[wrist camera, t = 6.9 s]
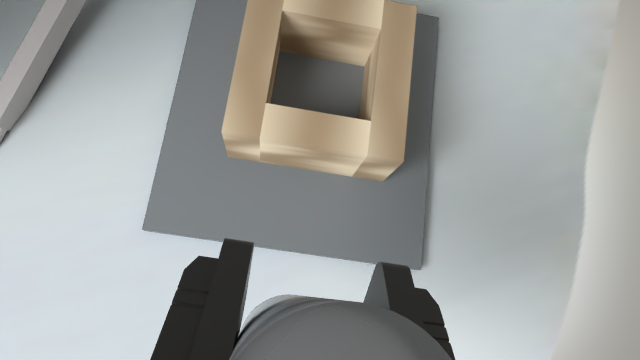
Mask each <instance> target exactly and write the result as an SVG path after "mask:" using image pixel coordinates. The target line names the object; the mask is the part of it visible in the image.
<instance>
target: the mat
mask: <svg viewBox="0 0 640 360" xmlns="http://www.w3.org/2000/svg"><path fill="white" fill-rule="evenodd" d="M247 2H248V0H196V4H195V8H194V12H193V16H192V21H191V25H190V29H189V33H188V37H187V42H186V46H185V50H184V54H183V59H182V63H181V67H180V71H179V76H178V80H177V84H176V88H175V92H174V97H173V101H172V105H171V109H170V114H169V118H168V122H167V126H166V131H165V135H164V139H163V143H162V147H161V152H160V156H159V160H158V164H157V169H156V173H155V177H154V181H153V186H152V190H151V194H150V198H149V202H148V207H147V211H146V215H145V219H144V224H143V228H142V229H143V230H144V231H151V232H158V233H165V234H172V235H179V236H185V237H192V238H199V239H206V240H213V241H220V242H224V239H225V238H229V239H235V240H242V241H249V242H254V246H255V247H262V248H269V249H276V250H282V251H289V252H296V253H303V254H310V255H317V256H324V257H331V258H338V259H345V260H352V261H359V262H366V263H373V264H377V263H378V262H386V263H392V264H399V265H406V266H408V267H409V268H410V269H414V270H421V263H422V248H423V234H424V220H425V206H426V191H427V177H428V163H429V149H430V134H431V120H432V106H433V91H434V77H435V63H436V49H437V34H438V20H439V18H438V17H433V16H428V15H423V14H418V13H416V24H415V35H414V47H413V59H412V70H411V82H410V94H409V106H408V117H407V129H406V141H405V152H404V162H403V163H402V164H401V165H400V166H399V167H398V168H396V169H395V170H394V171H393V172H392V173H391V174H390V175H389V176H388V177H387V178H386V179H385V180H384V181H383V182H382V181H375V180H369V179H363V178H357V177H350V176H344V175H338V174H332V173H325V172H319V171H313V170H307V169H300V168H294V167H288V166H282V165H275V164H269V163H263V162H257V161H250V160H244V159H238V158H232V157H228V156H227V152H226V148H225V144H224V140H223V136H222V132H221V131H222V126H223V121H224V116H225V111H226V106H227V101H228V96H229V91H230V86H231V81H232V76H233V71H234V66H235V61H236V56H237V51H238V46H239V41H240V36H241V31H242V26H243V21H244V16H245V11H246V7H247ZM363 75H364V66H359V65H353V64H348V63H342V62H337V61H331V60H326V59H320V58H315V57H309V56H304V55H298V54H293V53H287V52H282V51H279V57H278V62H277V68H276V74H275V80H274V86H273V91H272V97H271V103H270V104H275V105H281V106H286V107H292V108H298V109H304V110H310V111H316V112H321V113H327V114H333V115H339V116H345V117H351V118H356V119H358V118H359V110H360V101H361V92H362V84H363Z"/></svg>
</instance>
